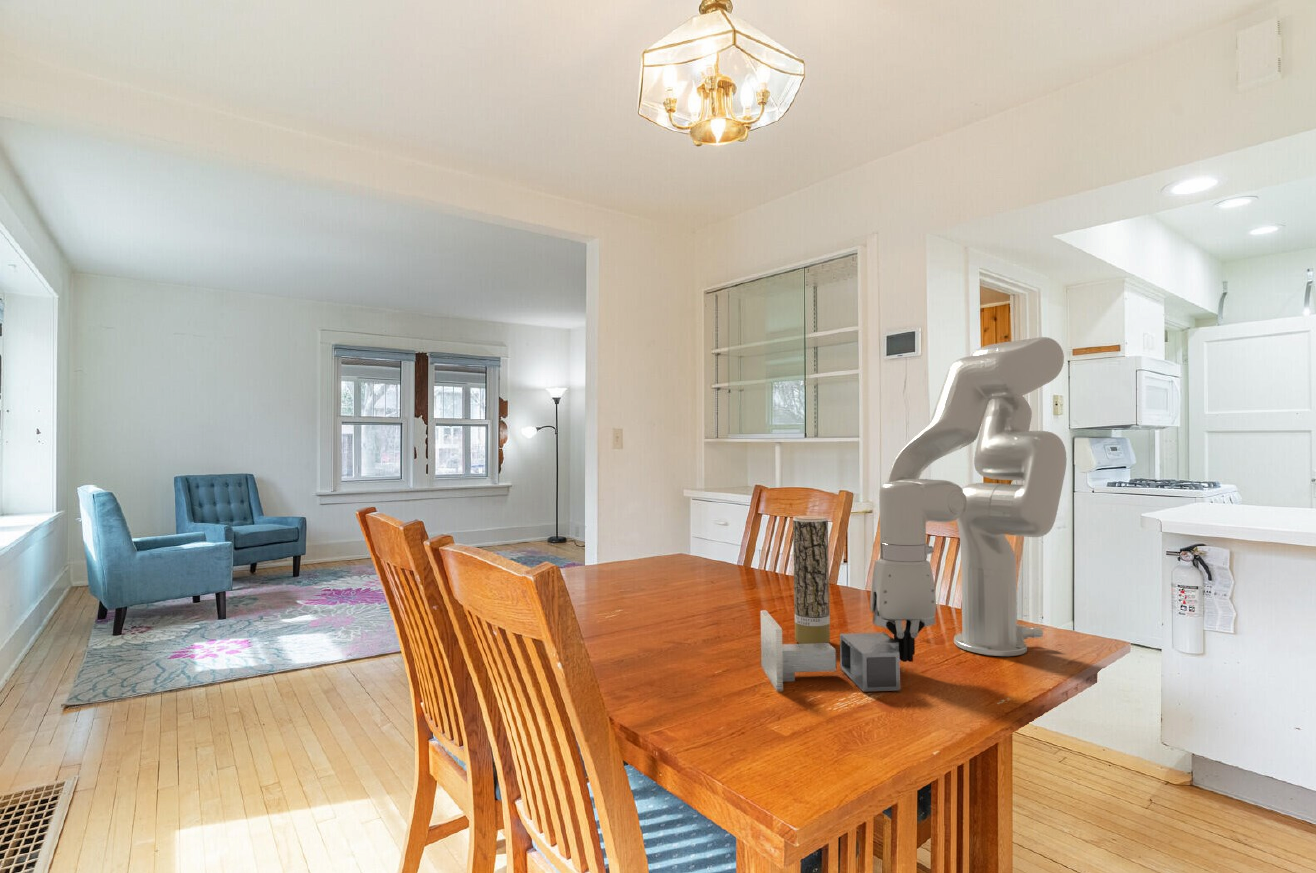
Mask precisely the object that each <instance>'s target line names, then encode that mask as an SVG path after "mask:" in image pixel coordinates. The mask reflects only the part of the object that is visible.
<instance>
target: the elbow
mask: <svg viewBox="0 0 1316 873" xmlns="http://www.w3.org/2000/svg"><path fill="white" fill-rule="evenodd" d="M839 648H840V649H839V650H840V651H839V654H840V655H839V658H840V659H839V660H840V663H839V664H840V666H839V667H840V670H842V671H843V672H844V673H845V674H846V676H848V677H849V679H850V680H852V681H853V683H854V684H855V685H856V686H857V687H858V688H859V689H860V690H861V691H862V692H889V691H891V692H892V691H895V692H896V691H901V668H900V661H901V660H900V653H899V643H898V642H897V641H896V640H894V637H891V636H890V635H889V634H888V633H886V632H860V633H859V632H857V633H855V632H853V633H852V632H851V633H839Z"/></svg>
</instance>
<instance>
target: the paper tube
mask: <svg viewBox="0 0 1316 873" xmlns="http://www.w3.org/2000/svg"><path fill="white" fill-rule="evenodd" d="M792 518H793V519H792V529H793V530H792V532H793V533H792V534H793V535H792V536H793V537H792V538H793V542H792V543H793V592H794V594H793V595H794V597H793V598H794V599H793V600H794V601H793V602H794V604H793V605H794V640H795V641H796V642H797V644H815V643H829V644H830V640H831V638H830V637H831V634H830V633H831V632H830V628H831V627H830V623H831V622H830V618H831V617H830V615H831V614H830V577H829V576H830V572H829V571H830V570H829V568H830V567H829V564H830V563H829V558H830V557H829V521H828V520H829V519H828V518H829V517H827V516H822V515H796V516H793V517H792Z"/></svg>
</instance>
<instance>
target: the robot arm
mask: <svg viewBox="0 0 1316 873" xmlns="http://www.w3.org/2000/svg"><path fill="white" fill-rule="evenodd" d="M1064 362H1065V355H1064V351H1063V348H1062V347H1061V345H1060V343H1058V341H1057V340H1055V339H1053V338H1050V337H1044V336H1041V337H1033V338H1027V339H1018V340H1012V341H1005V342H998V343H992V344H987V345H985V346H982V347H979V348H977V349H976V350H974V351H973V353H971V355H970V356H965V357H962V358H959V359H957V360H955V361H954V362H953V363H952V364H951V365H950V366H949V367H948V370H947V373H946V376H945V378H944V382H943V384H942V388H941V390H940V393H939V396H938V399H937V402H936V405H935V408H934V410H933V414H932V416H931V419H930V422H929V423H928V424H927V426H926V427H925V428H924V429H922V431H920V432H919V433H917V434H916V435H915V436H914V437H913V438H912V439H911V440H910V441H909V442H908V443H907V444H906V445H905V446H903V448H902V449H901V451H899V453H898V454H897V455H896V457H895V459H894V460H893V463H892V466H891V467H890V470H889V473H888V477H887V479H886V482H883V484H881V486H880V488H879V492H878V495H879V504H878V505H879V506H878V508H879V554H880V556H879V557H880V559H875V560H874V566H873V570H872V578H871V589H870V611H871V613H872V614H873V617H872V621H871V622H872V624H874V625H875V626H876V627H880V628H884V629H887V630H888V631H889V632H890V633H891V634H892V635H893V639H894V640H896V641H897V642H898V643H899V653H900V661H901V662H903V663H906V662H910V663H912V662H914V656H915V653H916V649H915V648H916V645H915V644H916V643H915V642H916V641H915V639H917V637H918V634H919V633H920V632H921V631H922V630H923V629H924V627H929V626H934V625H936V622H937V621H936V618H935V616H936V613H937V601H936V600H937V597H936V595H937V594H936V586H935V579H934V573H933V571H932V566H931V562H930V561H929V560H928V555H932V554H934V547H933V546H932V545H928V543H927V535H926V534H927V526H926V525H927V524H926V523H927V522H932V523H933V522H934V523H944V524H945V523H950V522H951V523H952V522H954V521H956V524H957V528H958V533H959V542H960V543H959V544H960V563H961V564H960V571H961V572H960V576H961V578H960V579H961V581H960V582H961V584H960V585H961V586H960V587H961V622H962V623H961V624H962V625H961V627H962V631H961V632H960V633H957V634H955V635H954V637H953V642H954V644H955V646H957V647H958V648H960V649H962V650H964V651H968V652H970V653H974V654H980V655H985V656H994V657H1015V656H1016V657H1017V656H1022V655H1024V654H1026V653H1027V651H1028V645H1027V643H1026V642H1025V641H1026V640H1027V639H1028V638H1033V639H1036V638H1037V639H1041V638H1043V636H1044V632H1043V629H1042V628H1041V627H1037V626H1035V627H1028V626H1027V625H1023V624H1022V625H1021V624H1019V623H1018V608H1017V607H1018V606H1017V605H1018V602H1017V598H1018V597H1017V558H1016V554H1015V551H1014V549H1013V546H1012V545H1011V543H1010V541H1009V539H1008V538H1007V536H1006V535H1009V536H1016V537H1025V538H1039V537H1044V536H1045V535H1047V534H1049V533H1050V531H1051V530H1052V529H1053V527H1054V524H1055V522H1056V518H1057V515H1058V510H1059V505H1060V499H1061V494H1062V489H1063V486H1064V480H1065V475H1066V469H1067V459H1068V458H1067V451H1066V446H1065V444H1064V442H1063V440H1062V439H1061V438H1060V437H1059V435H1057V434H1055V433H1054V432H1050V431H1049V430H1048V431H1047V430H1030V428H1031V425H1032V424H1031V422H1032V417H1033V416H1032V415H1033V413H1032V408H1031V406H1030V404H1029V403H1028V400H1027V399H1026V398H1025V397H1024V396H1025V395H1027V394H1030V393H1032V392H1034V391H1035V390H1038V389H1040V388H1042V387H1043V386H1045V385H1047V384H1049V383H1051V382H1052V381H1054V380H1055V379H1056V378H1057V377H1058V376H1059V374H1060V373H1061V372H1062V369H1063V367H1064ZM976 440H977V443H976V447H975V451H974V452H975V453H974V458H973V459H974V460H973V466H974V469H975V471H976V472H977V473H978V475H980V476H981V477H984V478H987V479H991V480H1000V481H1001V480H1002V481H1022V482H1023V481H1024V482H1023V484H1012V483H1000V482H999V483H998V482H996V483H995V482H994V483H993V482H974V483H970V484H967V485H964V486H963V487H961V486H960V485H958V484H957V483H955V482H953V481H950V480H944V479H931V478H930V479H928V478H921V475H922V474H923V473H924V471H925V470H926V469H927V468H928V467H929V466H930V465H932V464H933V463H934V462H935V461H937V460H939V459H941V458H942V457H944V456H948V455H949V454H952V453H955V452H956V451H959V450H961V449H963V448H965V447H967V446H969V445H971V444H973V443H974V442H975V441H976ZM903 621H904V626H903ZM1024 640H1025V641H1024Z"/></svg>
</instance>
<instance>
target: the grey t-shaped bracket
mask: <svg viewBox="0 0 1316 873" xmlns="http://www.w3.org/2000/svg"><path fill="white" fill-rule="evenodd" d="M760 648H761V650H760V654H761V655H760V656H761V663H760V664H761V666H760V667H761V668H762V670H763V671H764V673H765V674H766V676H767V678H768V679H769V681H770V683H771V684H772V686H773V687H774V690H776V692H784V683H785V682H796V679H795V678H796V676H795V673H813V672H814V673H815V672H816V673H817V672H818V673H819V672H820V673H821V672H836V671H837V665H838V664H837V650H836V648H834V647H833V646H832V645H831V644H830V642H829V643H815V644H799V643H789V644H788V643H787V644H786V643H785V644H783V629H782V627H781V626H780V625H779V623H778V622H777V621H776V620H775V619H774V618H773V617H772V616H771V614H770V613H769V612H768V611H767V610H765V609H762V610H760Z"/></svg>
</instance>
